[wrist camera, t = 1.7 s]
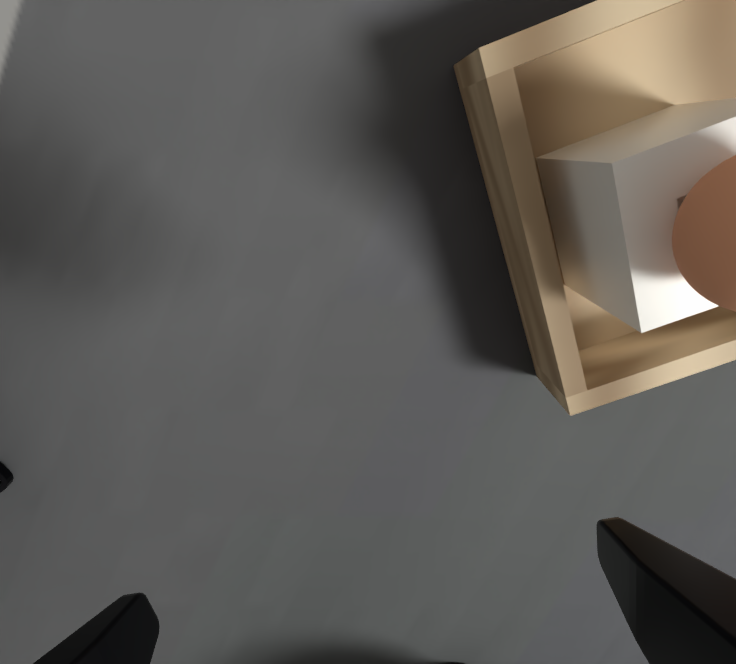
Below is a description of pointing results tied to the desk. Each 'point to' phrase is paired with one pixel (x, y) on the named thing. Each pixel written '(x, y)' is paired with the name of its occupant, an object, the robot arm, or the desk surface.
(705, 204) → the ball
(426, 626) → the desk surface
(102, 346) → the desk surface
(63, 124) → the desk surface
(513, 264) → the tray
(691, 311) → the stand
